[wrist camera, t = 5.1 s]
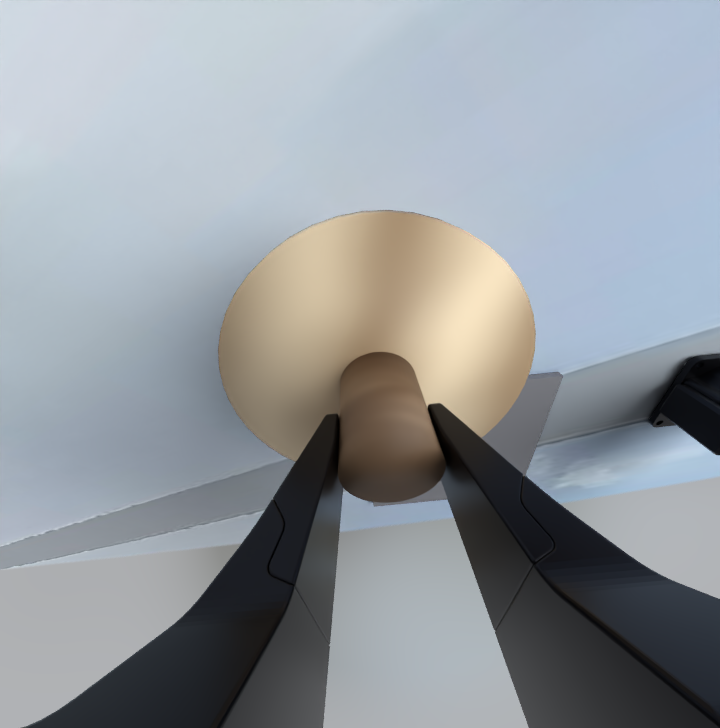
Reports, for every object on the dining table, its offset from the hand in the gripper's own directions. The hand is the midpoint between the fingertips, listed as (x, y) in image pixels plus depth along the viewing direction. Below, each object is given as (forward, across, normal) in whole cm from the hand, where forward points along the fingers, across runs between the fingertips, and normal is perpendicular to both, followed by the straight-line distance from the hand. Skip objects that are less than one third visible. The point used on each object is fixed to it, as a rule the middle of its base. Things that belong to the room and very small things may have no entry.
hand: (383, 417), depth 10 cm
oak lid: (+3, 0, 0) cm, 3 cm away
